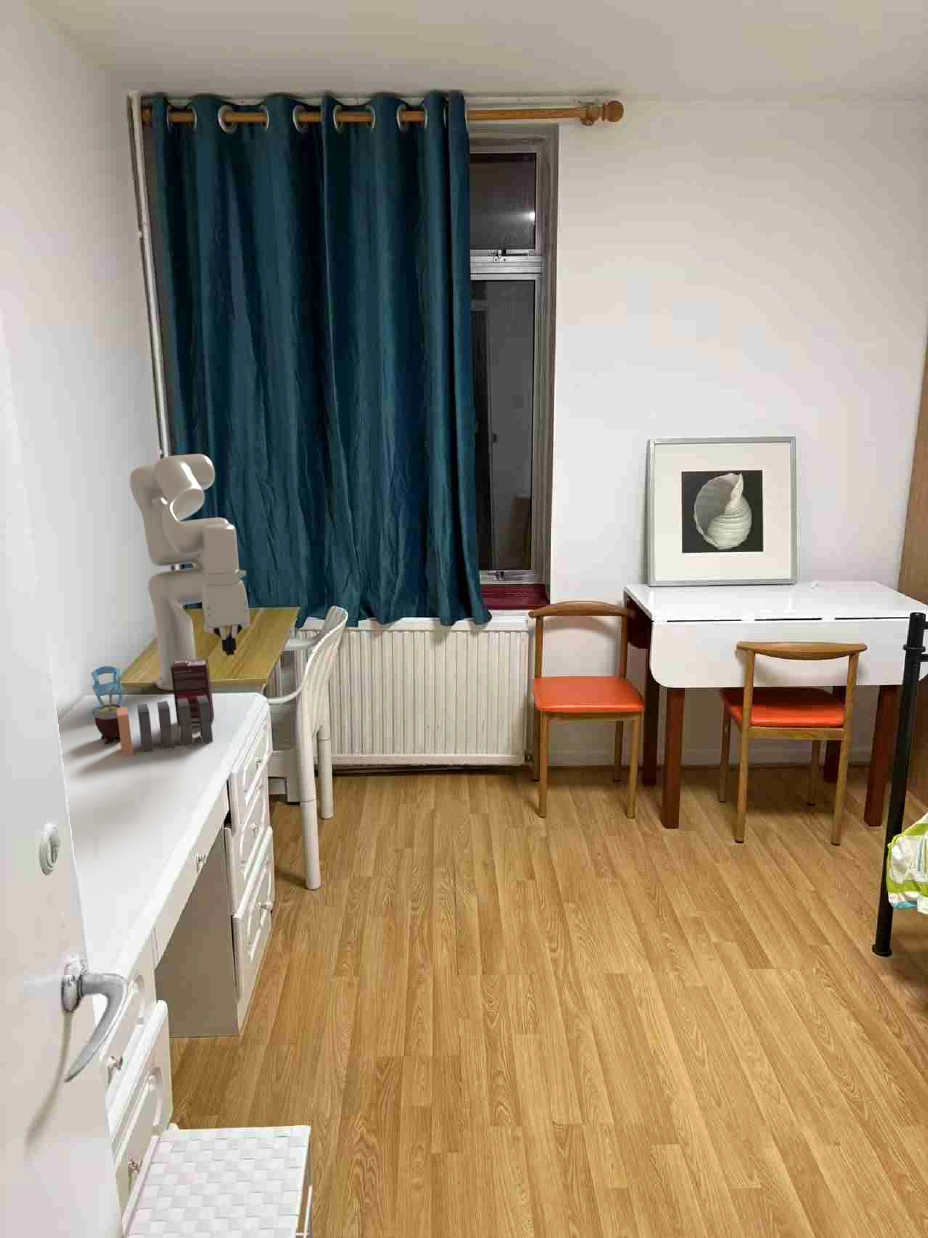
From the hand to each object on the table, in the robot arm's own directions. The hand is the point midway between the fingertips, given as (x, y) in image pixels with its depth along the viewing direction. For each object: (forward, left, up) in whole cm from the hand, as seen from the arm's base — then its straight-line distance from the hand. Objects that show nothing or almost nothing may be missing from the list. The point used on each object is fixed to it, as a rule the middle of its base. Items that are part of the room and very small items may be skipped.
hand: (229, 653), depth 225 cm
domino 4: (0, -7, -21) cm, 22 cm away
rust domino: (0, -25, -21) cm, 32 cm away
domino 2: (0, -16, -21) cm, 26 cm away
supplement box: (-11, -8, -21) cm, 25 cm away
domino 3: (0, -12, -21) cm, 24 cm away
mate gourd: (-8, -27, -21) cm, 35 cm away
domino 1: (0, -21, -21) cm, 29 cm away
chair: (-26, -27, -21) cm, 43 cm away
